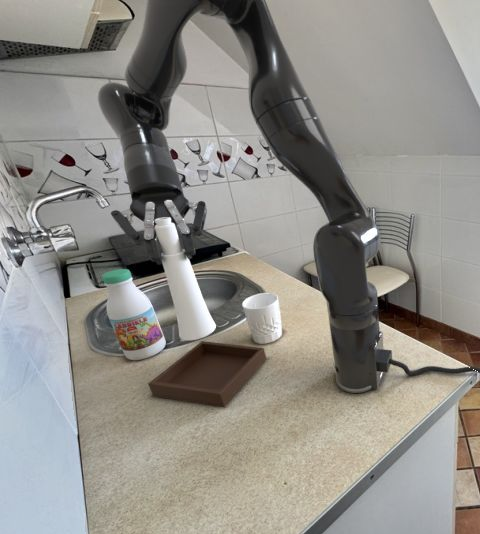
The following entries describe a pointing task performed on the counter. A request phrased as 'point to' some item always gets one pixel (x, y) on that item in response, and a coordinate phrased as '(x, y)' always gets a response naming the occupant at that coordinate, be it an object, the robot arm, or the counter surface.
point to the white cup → (263, 317)
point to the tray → (209, 373)
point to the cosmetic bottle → (183, 285)
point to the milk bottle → (132, 316)
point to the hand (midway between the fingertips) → (174, 259)
